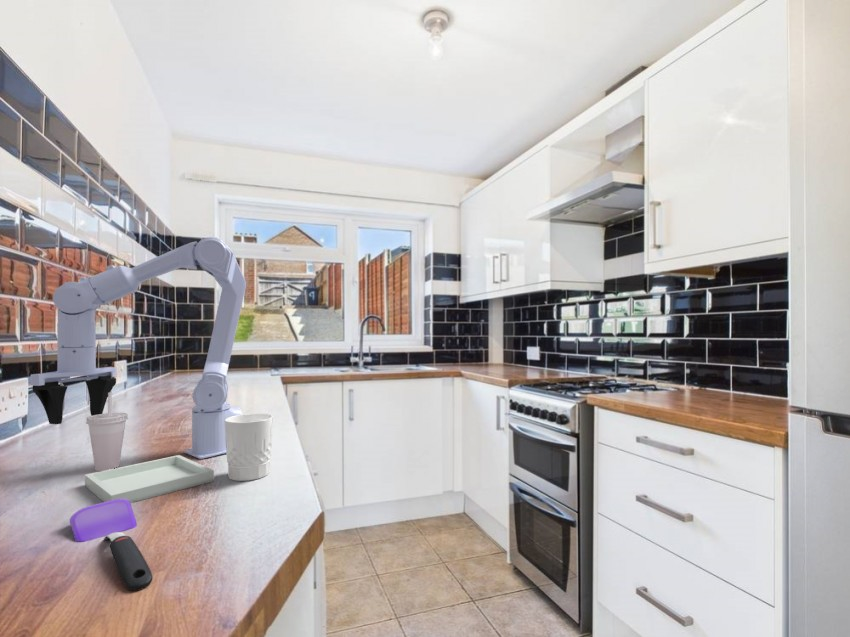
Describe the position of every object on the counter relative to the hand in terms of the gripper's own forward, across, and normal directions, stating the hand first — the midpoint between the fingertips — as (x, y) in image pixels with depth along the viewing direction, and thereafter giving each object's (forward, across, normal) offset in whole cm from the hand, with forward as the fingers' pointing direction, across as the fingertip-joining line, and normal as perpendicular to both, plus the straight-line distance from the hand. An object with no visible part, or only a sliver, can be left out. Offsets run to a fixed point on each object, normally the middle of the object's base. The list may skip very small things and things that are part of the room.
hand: (76, 419), depth 85 cm
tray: (+9, +4, +21) cm, 24 cm away
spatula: (+10, +23, +37) cm, 44 cm away
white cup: (+9, -4, +35) cm, 36 cm away
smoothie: (+9, -1, +6) cm, 11 cm away
